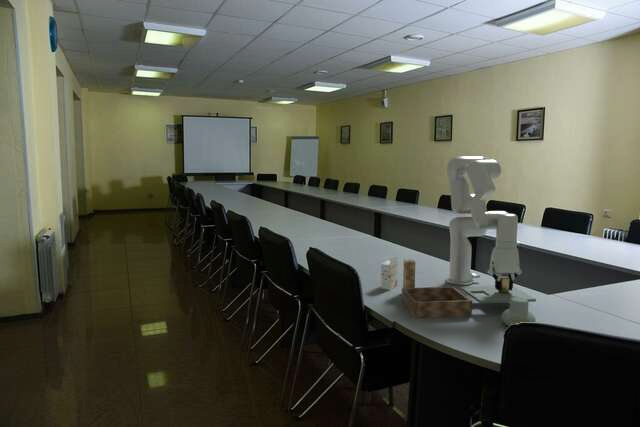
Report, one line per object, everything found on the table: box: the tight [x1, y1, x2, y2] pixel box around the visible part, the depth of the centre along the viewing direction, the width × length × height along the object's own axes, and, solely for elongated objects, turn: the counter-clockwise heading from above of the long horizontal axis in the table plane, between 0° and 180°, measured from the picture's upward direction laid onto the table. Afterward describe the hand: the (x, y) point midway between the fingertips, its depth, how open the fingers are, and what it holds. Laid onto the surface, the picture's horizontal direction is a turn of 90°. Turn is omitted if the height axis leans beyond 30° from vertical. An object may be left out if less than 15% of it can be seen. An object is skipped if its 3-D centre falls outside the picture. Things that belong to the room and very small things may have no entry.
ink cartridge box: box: [380, 255, 399, 291], centre depth 198 cm, size 9×5×15 cm, turn 148°
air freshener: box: [501, 297, 536, 327], centre depth 152 cm, size 11×8×10 cm
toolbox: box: [401, 286, 473, 319], centre depth 170 cm, size 22×18×6 cm
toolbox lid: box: [460, 276, 537, 304], centre depth 171 cm, size 22×18×7 cm
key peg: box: [402, 259, 416, 288], centre depth 187 cm, size 4×4×15 cm
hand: (503, 289), depth 171 cm, fingers closed on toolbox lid, 4 cm apart
